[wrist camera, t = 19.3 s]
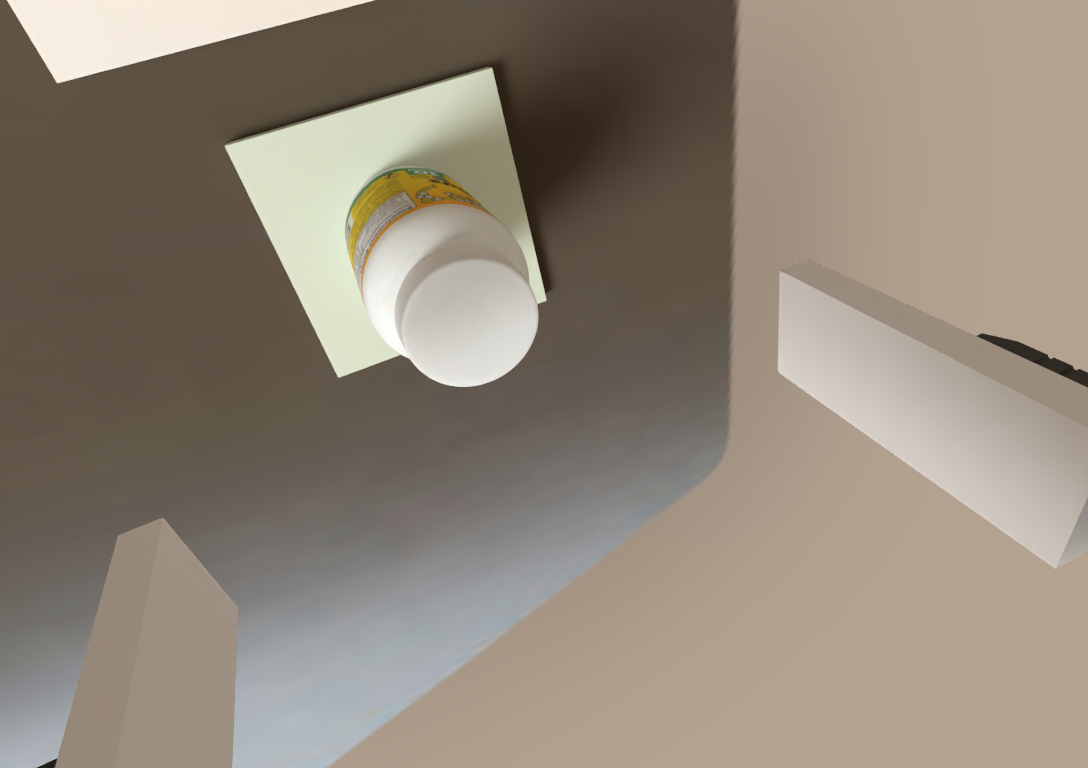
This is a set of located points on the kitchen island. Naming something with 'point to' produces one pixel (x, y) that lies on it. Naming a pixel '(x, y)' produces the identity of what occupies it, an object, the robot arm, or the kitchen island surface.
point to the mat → (347, 164)
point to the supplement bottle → (440, 276)
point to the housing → (146, 27)
